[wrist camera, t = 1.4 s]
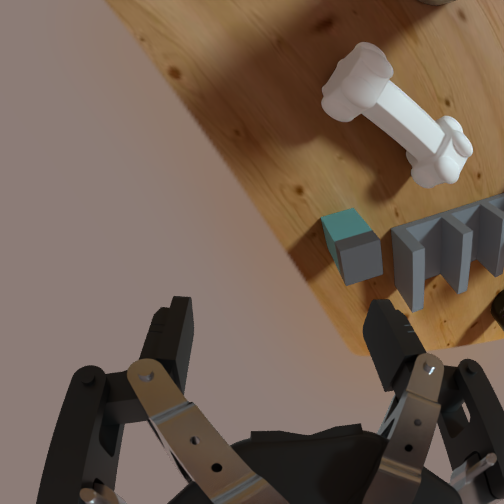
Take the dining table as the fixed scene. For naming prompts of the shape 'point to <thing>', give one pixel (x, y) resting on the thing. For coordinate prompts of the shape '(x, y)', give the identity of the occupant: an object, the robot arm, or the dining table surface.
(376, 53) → the bone shaped toy
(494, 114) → the dining table surface
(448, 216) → the grey piece
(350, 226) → the teal plug
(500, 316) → the supplement bottle
